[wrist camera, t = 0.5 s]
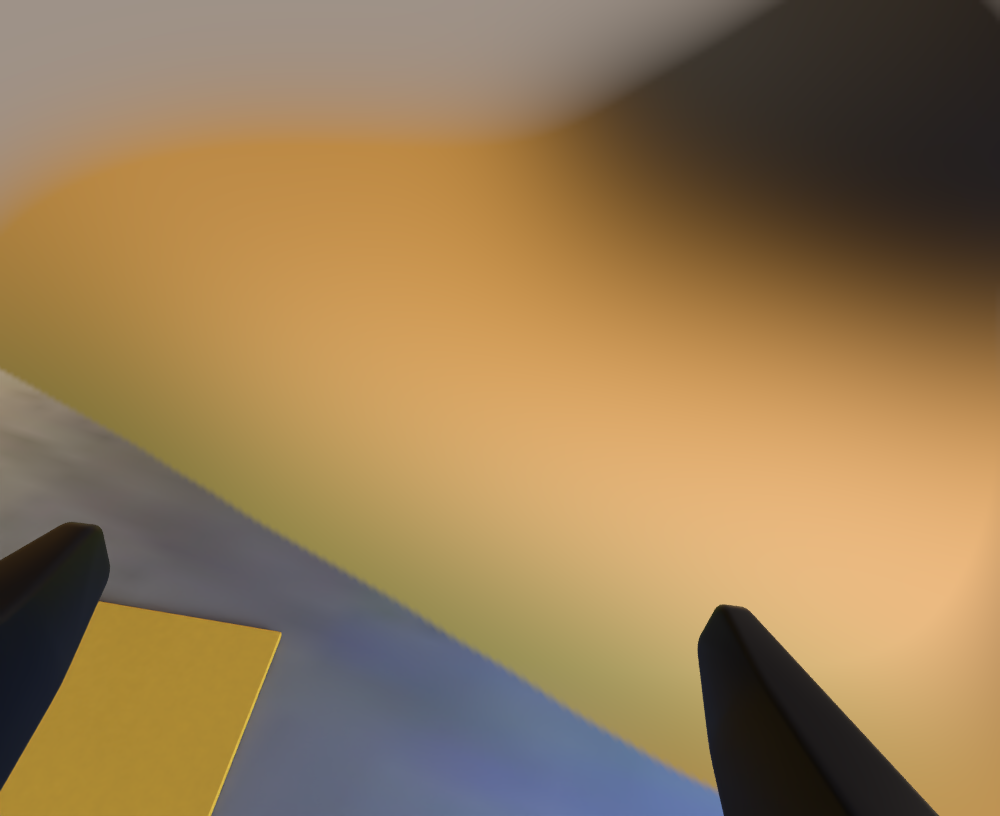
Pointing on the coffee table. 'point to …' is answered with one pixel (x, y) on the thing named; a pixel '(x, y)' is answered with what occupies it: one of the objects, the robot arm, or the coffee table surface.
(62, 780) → the cloth
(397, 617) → the coffee table surface
